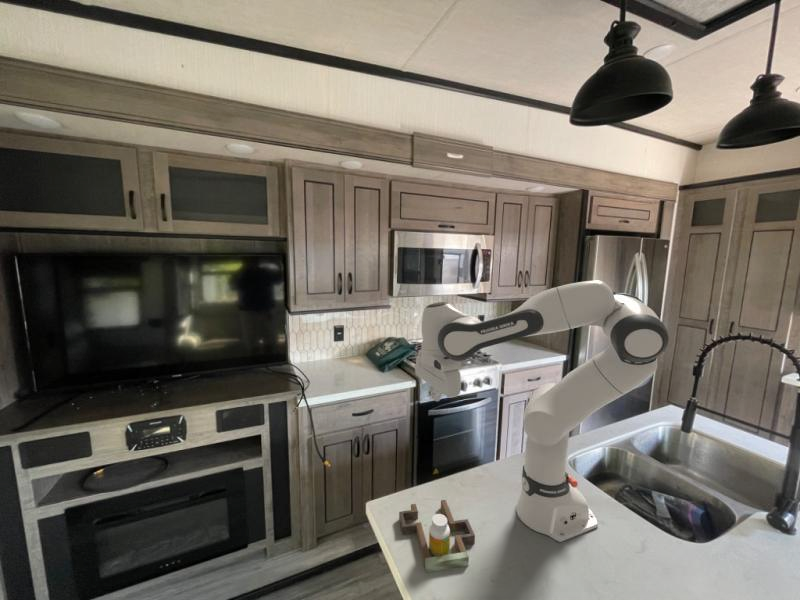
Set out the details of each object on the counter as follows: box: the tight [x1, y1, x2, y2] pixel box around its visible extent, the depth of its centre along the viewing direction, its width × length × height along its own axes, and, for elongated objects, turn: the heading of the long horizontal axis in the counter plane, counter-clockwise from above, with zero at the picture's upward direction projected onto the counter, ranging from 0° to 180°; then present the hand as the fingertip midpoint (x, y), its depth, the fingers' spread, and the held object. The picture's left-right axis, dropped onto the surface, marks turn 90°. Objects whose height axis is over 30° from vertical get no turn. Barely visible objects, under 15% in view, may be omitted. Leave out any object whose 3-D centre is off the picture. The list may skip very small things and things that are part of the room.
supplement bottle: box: [428, 513, 451, 557], centre depth 87 cm, size 5×5×10 cm
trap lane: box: [398, 499, 476, 573], centre depth 92 cm, size 19×20×2 cm
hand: (435, 399), depth 101 cm, fingers closed
